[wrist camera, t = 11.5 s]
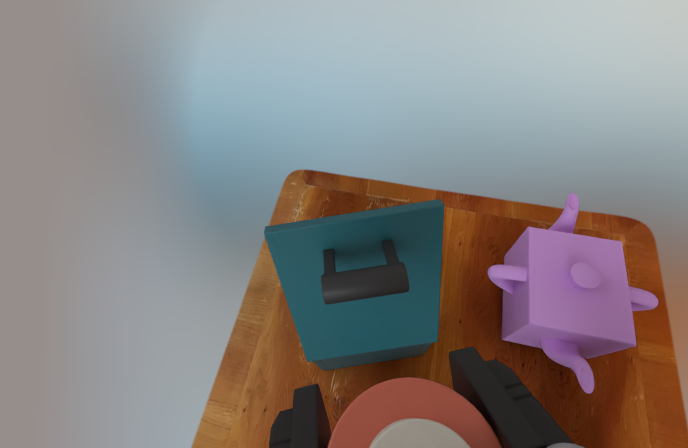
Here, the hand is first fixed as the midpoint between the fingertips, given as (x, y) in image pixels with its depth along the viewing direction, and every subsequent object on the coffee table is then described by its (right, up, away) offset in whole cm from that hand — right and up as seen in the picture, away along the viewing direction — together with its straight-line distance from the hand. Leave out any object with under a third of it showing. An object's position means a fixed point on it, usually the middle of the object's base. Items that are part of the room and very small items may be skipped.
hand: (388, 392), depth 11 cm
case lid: (0, 0, +16) cm, 16 cm away
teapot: (+22, -5, +30) cm, 38 cm away
